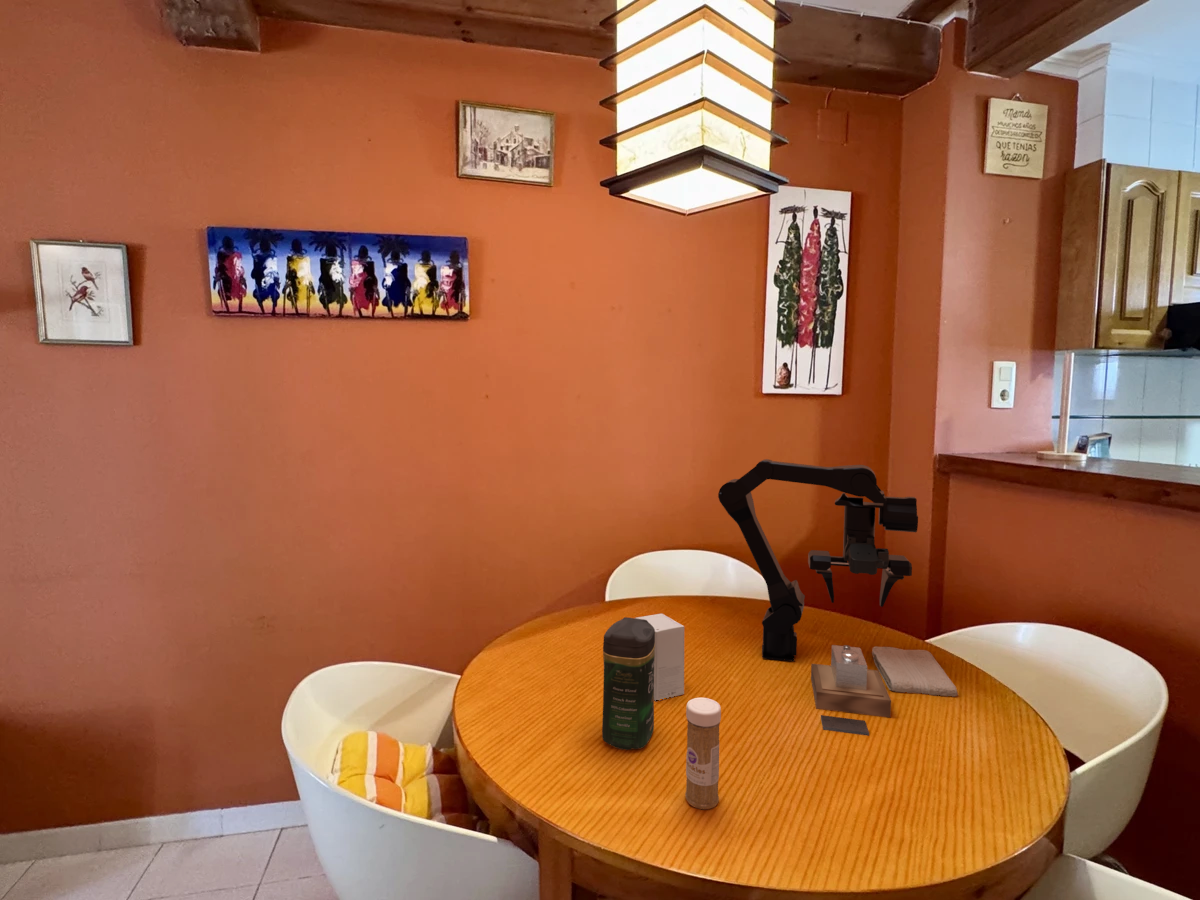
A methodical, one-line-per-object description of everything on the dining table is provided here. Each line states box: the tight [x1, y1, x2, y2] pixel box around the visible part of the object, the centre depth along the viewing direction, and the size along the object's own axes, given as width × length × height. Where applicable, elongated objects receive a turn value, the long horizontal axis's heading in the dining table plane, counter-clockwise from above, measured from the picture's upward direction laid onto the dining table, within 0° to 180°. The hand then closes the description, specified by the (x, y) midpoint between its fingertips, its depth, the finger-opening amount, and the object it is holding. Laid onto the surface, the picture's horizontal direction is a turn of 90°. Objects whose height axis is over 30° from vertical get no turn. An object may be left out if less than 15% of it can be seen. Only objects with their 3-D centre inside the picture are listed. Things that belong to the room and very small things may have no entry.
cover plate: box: [820, 714, 870, 736], centre depth 100 cm, size 7×4×1 cm, turn 75°
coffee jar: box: [601, 616, 655, 751], centre depth 97 cm, size 10×8×19 cm
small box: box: [635, 613, 685, 702], centre depth 113 cm, size 8×6×13 cm
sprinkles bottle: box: [684, 697, 722, 810], centre depth 81 cm, size 5×5×14 cm
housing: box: [830, 644, 868, 690], centre depth 110 cm, size 8×5×6 cm, turn 165°
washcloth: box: [871, 646, 959, 698], centre depth 120 cm, size 12×18×3 cm, turn 169°
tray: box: [810, 663, 892, 718], centre depth 110 cm, size 12×12×3 cm
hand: (856, 604), depth 122 cm, fingers open, 9 cm apart
